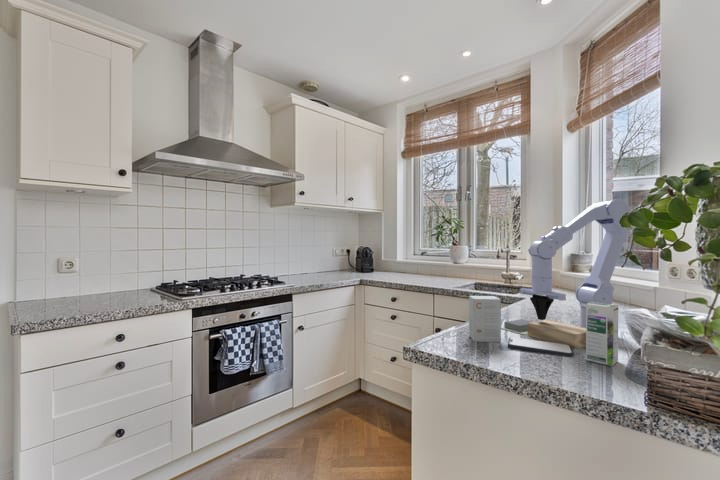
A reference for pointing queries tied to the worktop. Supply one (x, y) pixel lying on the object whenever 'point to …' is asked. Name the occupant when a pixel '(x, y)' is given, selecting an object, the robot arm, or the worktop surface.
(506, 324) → the tile
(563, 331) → the wooden block
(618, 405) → the worktop surface
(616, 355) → the syrup box
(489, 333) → the small box
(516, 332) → the mat
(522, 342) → the phone case
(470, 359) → the worktop surface
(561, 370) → the worktop surface
